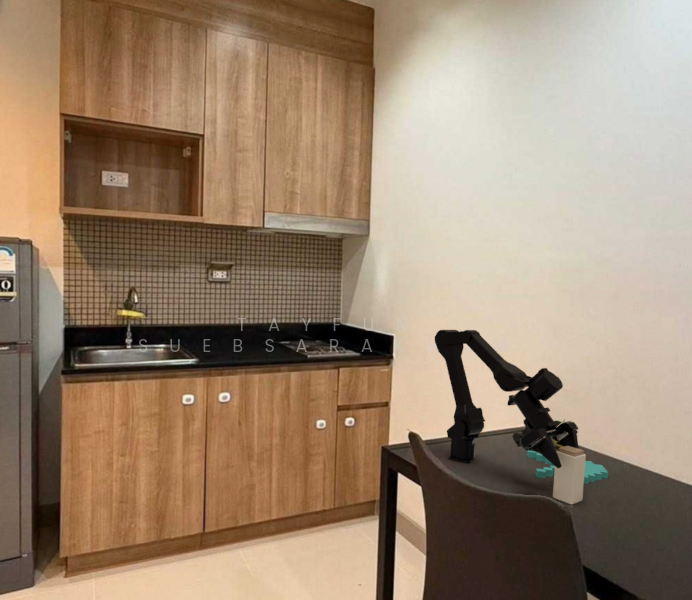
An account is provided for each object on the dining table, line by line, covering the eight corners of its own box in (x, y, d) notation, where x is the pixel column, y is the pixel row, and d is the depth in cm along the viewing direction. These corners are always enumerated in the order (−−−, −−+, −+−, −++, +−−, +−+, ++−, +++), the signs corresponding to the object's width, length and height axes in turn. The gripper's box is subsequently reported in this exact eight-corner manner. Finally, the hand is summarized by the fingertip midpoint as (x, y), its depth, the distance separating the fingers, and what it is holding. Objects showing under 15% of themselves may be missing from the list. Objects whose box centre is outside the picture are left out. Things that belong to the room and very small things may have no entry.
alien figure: (536, 479, 146) (614, 489, 142) (537, 471, 146) (615, 481, 142) (526, 456, 166) (595, 465, 162) (527, 449, 166) (595, 457, 162)
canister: (552, 497, 132) (556, 447, 132) (563, 493, 135) (567, 445, 135) (571, 504, 128) (575, 453, 128) (582, 500, 131) (586, 450, 131)
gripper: (532, 423, 150) (566, 474, 142) (492, 430, 139) (526, 486, 130) (560, 401, 144) (597, 453, 135) (520, 407, 132) (558, 464, 124)
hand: (569, 464), depth 131 cm, fingers open, 9 cm apart
